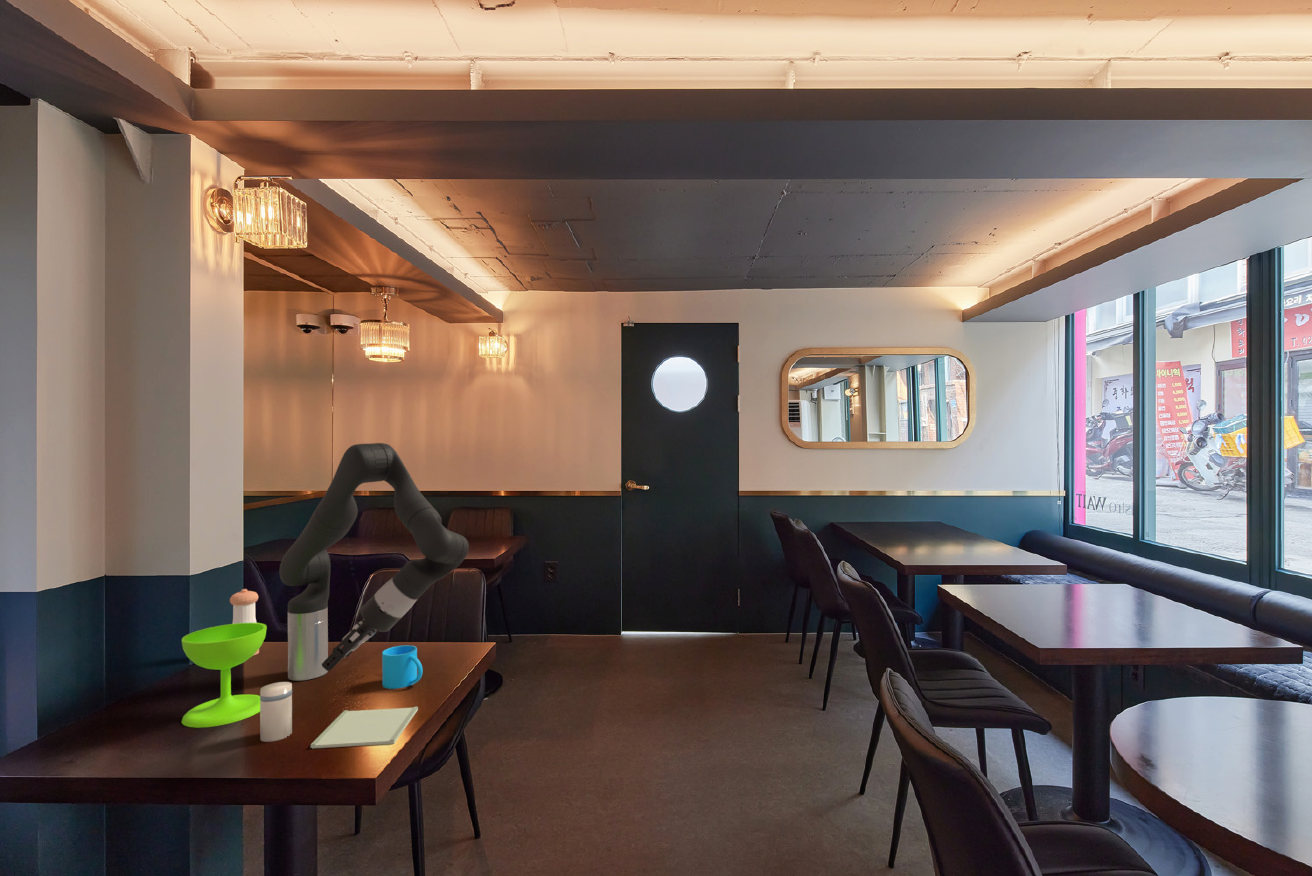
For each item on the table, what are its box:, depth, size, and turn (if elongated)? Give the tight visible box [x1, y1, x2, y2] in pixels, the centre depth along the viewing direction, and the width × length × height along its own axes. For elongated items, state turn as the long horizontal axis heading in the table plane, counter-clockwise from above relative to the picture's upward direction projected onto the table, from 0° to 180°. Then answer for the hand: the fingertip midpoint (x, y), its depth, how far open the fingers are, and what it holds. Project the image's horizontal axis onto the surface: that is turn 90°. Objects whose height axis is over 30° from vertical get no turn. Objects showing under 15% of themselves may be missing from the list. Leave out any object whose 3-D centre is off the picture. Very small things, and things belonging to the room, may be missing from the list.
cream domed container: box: [259, 681, 293, 743], centre depth 127 cm, size 6×6×10 cm
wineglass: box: [181, 622, 268, 729], centre depth 139 cm, size 16×16×18 cm
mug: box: [381, 644, 424, 690], centre depth 155 cm, size 12×8×8 cm
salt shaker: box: [229, 588, 260, 657], centre depth 180 cm, size 7×7×19 cm
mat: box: [310, 706, 419, 749], centre depth 130 cm, size 16×16×1 cm
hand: (334, 660), depth 128 cm, fingers open, 8 cm apart
